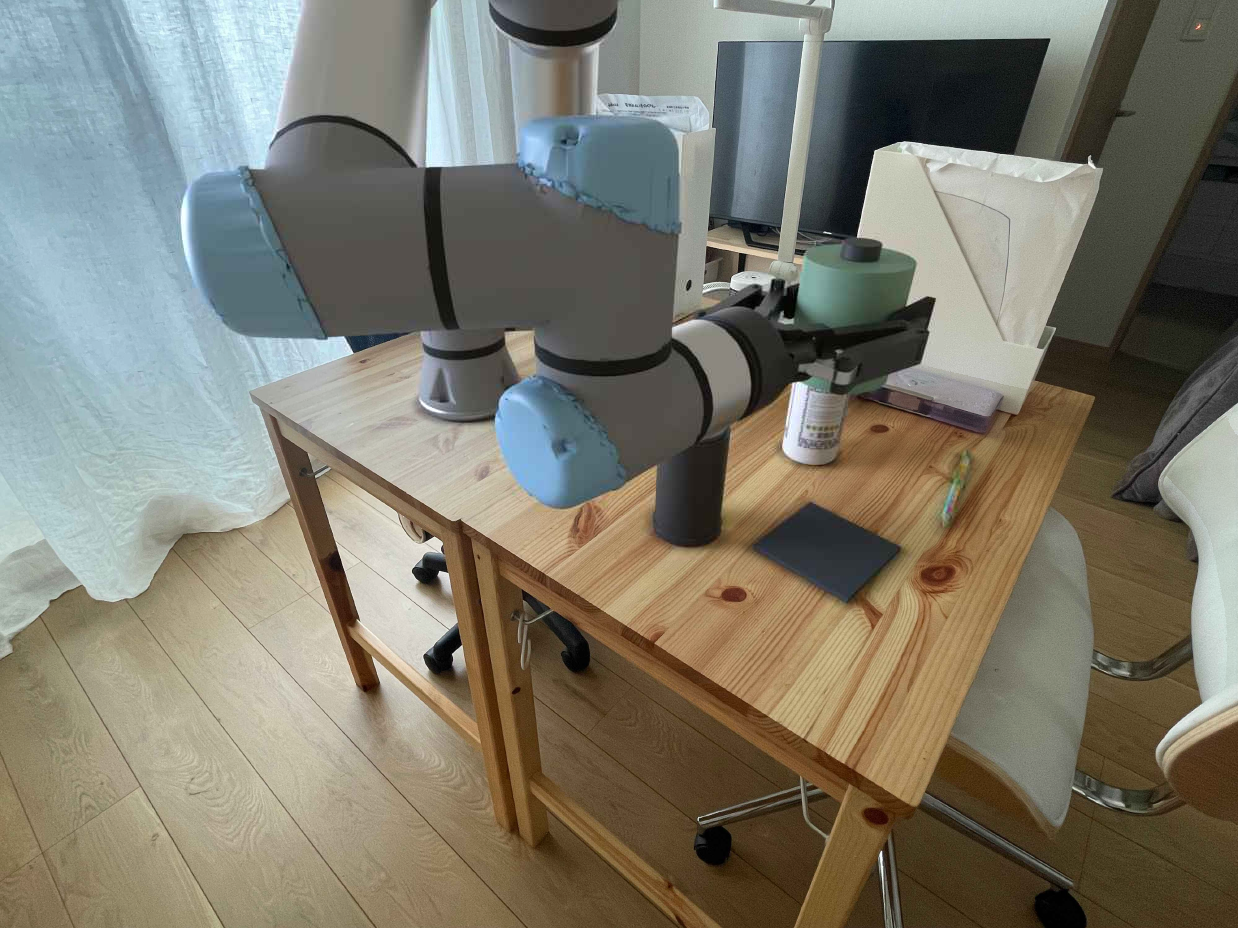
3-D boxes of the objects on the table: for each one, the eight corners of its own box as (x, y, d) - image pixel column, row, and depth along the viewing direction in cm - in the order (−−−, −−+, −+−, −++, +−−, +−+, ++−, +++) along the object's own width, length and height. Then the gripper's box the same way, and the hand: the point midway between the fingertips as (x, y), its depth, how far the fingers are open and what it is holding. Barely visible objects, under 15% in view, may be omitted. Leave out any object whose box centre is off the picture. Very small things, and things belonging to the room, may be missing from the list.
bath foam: (847, 459, 81) (883, 308, 70) (805, 472, 79) (835, 318, 68) (811, 434, 87) (840, 291, 76) (770, 446, 84) (794, 299, 73)
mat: (752, 548, 67) (752, 544, 66) (809, 505, 73) (810, 501, 73) (846, 603, 60) (848, 599, 60) (900, 551, 66) (901, 546, 66)
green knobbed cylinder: (767, 361, 58) (785, 235, 52) (842, 347, 61) (867, 226, 55) (828, 401, 51) (857, 261, 45) (909, 383, 54) (946, 249, 48)
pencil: (948, 533, 69) (972, 458, 81) (951, 525, 68) (975, 451, 81) (935, 529, 69) (961, 455, 82) (938, 521, 69) (964, 448, 81)
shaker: (641, 514, 72) (644, 413, 64) (699, 498, 74) (708, 399, 67) (672, 555, 66) (679, 449, 59) (734, 536, 68) (748, 432, 61)
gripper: (605, 375, 51) (769, 311, 64) (842, 484, 38) (988, 376, 51) (604, 283, 47) (779, 234, 60) (870, 370, 34) (1020, 284, 47)
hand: (875, 299), depth 56 cm, fingers closed on green knobbed cylinder, 9 cm apart
